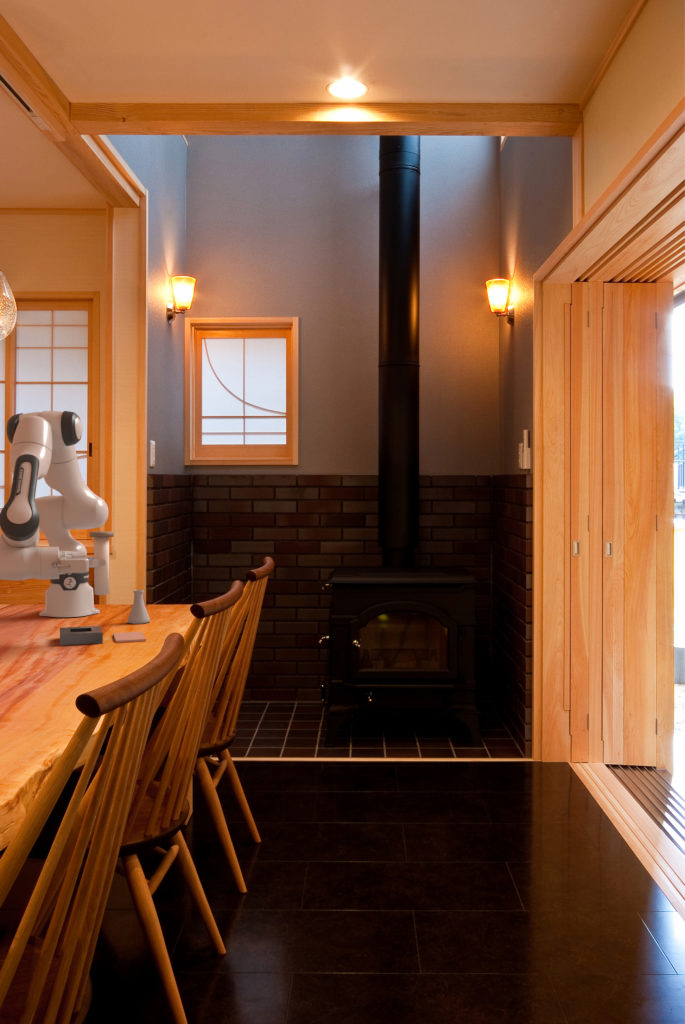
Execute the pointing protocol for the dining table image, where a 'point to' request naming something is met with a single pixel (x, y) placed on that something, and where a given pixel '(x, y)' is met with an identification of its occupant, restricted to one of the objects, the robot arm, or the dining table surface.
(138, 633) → the pad
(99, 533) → the peg
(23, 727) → the dining table surface
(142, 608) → the flask
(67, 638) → the eye block
